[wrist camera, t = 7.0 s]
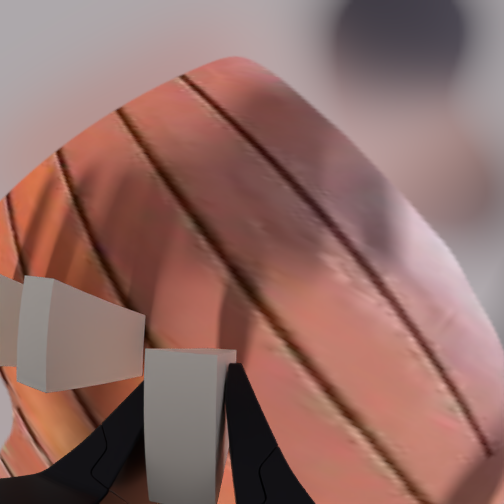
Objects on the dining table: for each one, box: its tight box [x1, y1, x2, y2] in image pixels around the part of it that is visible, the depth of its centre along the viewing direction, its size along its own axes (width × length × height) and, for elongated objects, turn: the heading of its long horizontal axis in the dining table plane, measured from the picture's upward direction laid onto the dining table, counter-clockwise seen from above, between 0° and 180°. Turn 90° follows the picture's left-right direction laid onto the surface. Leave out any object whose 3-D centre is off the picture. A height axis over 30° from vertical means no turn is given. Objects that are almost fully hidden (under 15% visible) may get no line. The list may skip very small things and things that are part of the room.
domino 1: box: [0, 274, 23, 367], centre depth 12 cm, size 2×4×10 cm, turn 179°
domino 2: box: [17, 275, 146, 393], centre depth 12 cm, size 2×4×10 cm, turn 178°
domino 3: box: [144, 348, 237, 504], centre depth 10 cm, size 2×4×10 cm, turn 178°
